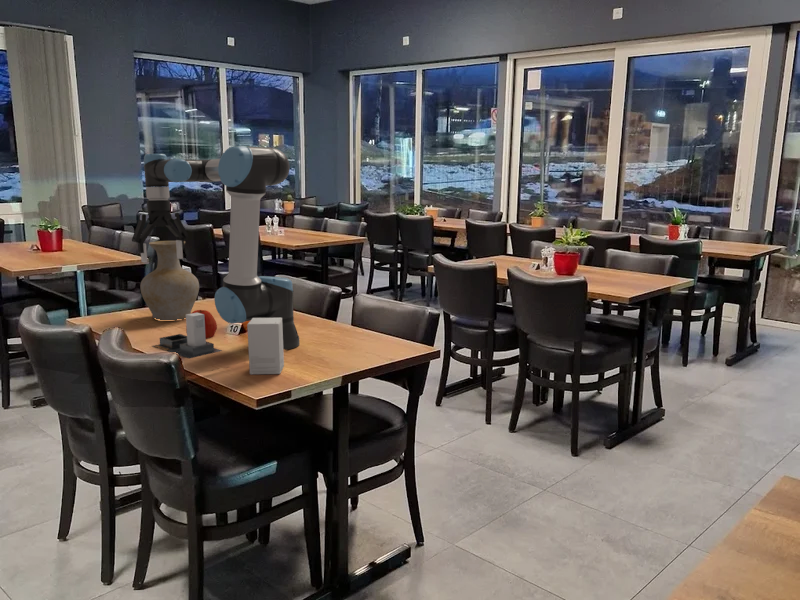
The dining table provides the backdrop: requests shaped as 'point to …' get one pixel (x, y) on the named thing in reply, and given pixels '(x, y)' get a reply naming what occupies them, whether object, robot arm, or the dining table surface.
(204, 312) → the apple
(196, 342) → the plug
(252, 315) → the robot arm
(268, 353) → the supplement box
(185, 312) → the vase
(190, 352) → the grey double tray
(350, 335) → the dining table surface
